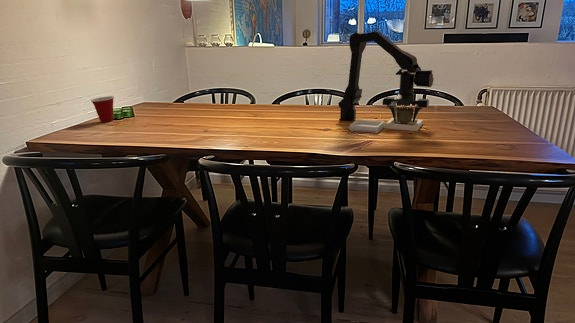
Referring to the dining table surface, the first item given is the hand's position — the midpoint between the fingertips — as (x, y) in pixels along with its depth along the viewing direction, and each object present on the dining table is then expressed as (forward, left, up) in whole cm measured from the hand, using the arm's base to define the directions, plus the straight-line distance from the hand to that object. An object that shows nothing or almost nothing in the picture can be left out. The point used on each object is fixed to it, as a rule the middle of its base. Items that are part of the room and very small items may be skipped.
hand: (404, 121), depth 174 cm
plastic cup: (-138, -43, -2) cm, 145 cm away
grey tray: (-13, -11, -2) cm, 17 cm away
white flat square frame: (0, 0, -2) cm, 2 cm away
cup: (0, 0, -2) cm, 2 cm away
